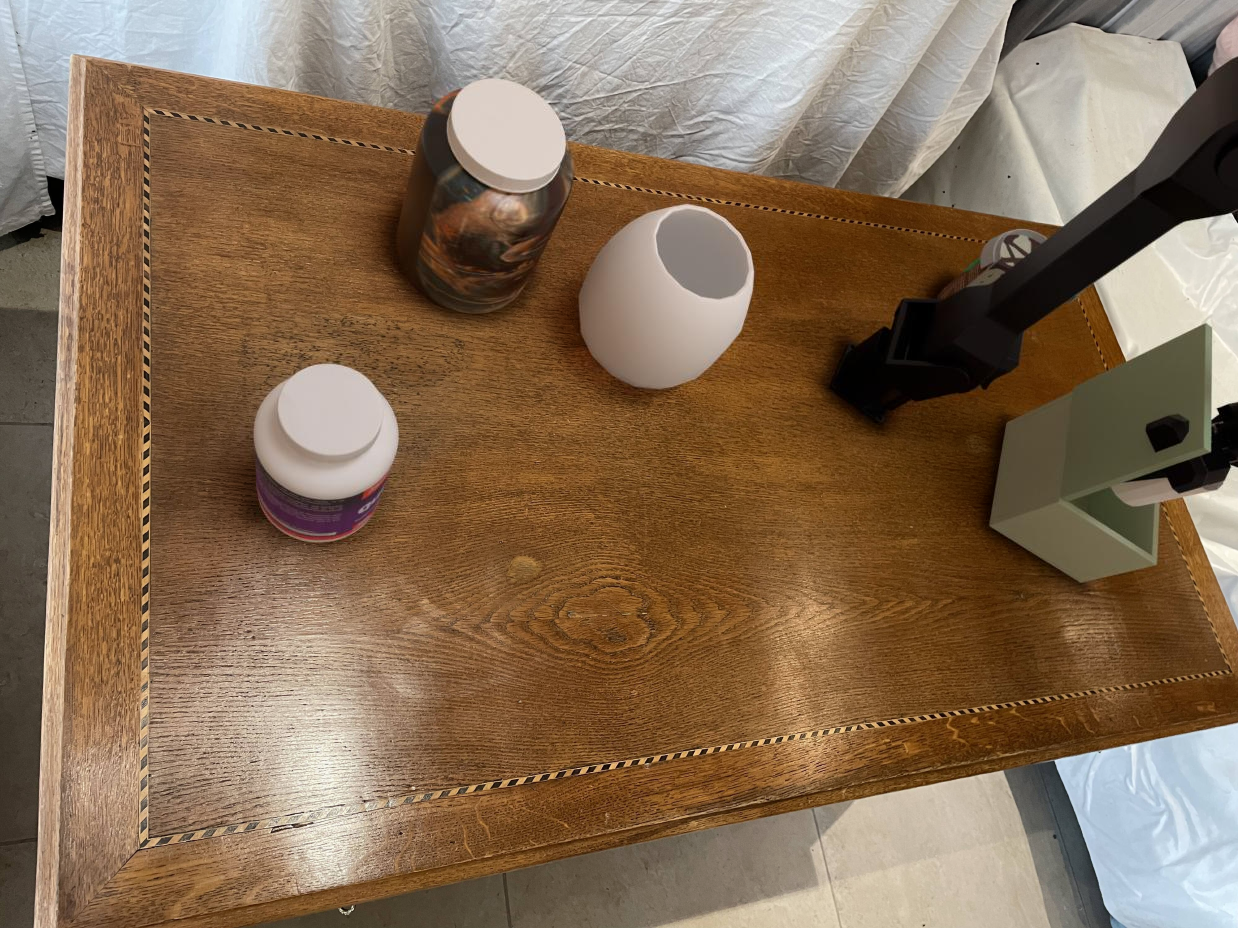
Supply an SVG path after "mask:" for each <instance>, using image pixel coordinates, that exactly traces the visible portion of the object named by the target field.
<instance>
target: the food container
mask: <svg viewBox="0 0 1238 928" xmlns="http://www.w3.org/2000/svg"><path fill="white" fill-rule="evenodd" d="M1048 238H1049V237H1048ZM1048 238H1047V237H1046V236H1045V235H1043V234H1041V233H1039V232H1038V231H1034V230H1031V229H1026V228H1017V229H1012V230H1008V231H1005V232H1003V233H1001V234H999V235H996V236H994V237H993V238H991V239H989V240H988V241H987V242H986V243H985V245H984V246H983V248H982V250H981V254H980V256H979V257H978V258H977V259H976V260H975V261H973V262H972V263H971V264H970V265H969V266H967V268H965V269H964V271H962V272H961V273H960V274H959V275H957V276H956V277H955V278H954V279H953V280H952V281H951V282H950V283H949V284H947V285H946V286H945V287H944V288H942V289H941V291H940V292H939V294H938V295H937V298H936V299H946V298H948V297H949V296H951V295H953V294H954V293H956V292H958V291H960V290H961V289H963V288H965V287H969V286H977V285H986V284H990V283H992V282H994V281H995V280H997V279H998V278H999V277H1000V276H1002V275H1003V274H1004V273H1005V272H1007V271H1008V270H1009V269H1010V268H1012V267H1013V266H1014V265H1015V264H1017V263H1018V262H1019V261H1020V260H1022V259H1023V258H1024V257H1025V256H1027V255H1028V254H1029V253H1030V252H1032V251H1033V250H1034V249H1035V248H1037V247H1038V246H1039V245H1040V244H1042V243H1043V242H1044V241H1045V240H1047V239H1048ZM1083 293H1084V290H1083V291H1082V292H1080V293H1079V294H1078V295H1076V296H1075V297H1073V298H1072V299H1070V300H1069V301H1068V303H1069V304H1072V303H1073V302H1074V301H1075V300H1077V299H1078V298H1079V297H1080V296H1081V294H1083Z"/></svg>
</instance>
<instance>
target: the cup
mask: <svg viewBox="0 0 1238 928" xmlns="http://www.w3.org/2000/svg"><path fill="white" fill-rule="evenodd" d="M753 263H754V262H753V258H752V252H751V250H750V249H749V247H748V244H747V242H746V241H745V238H744V237H743V235H742V234H741V232H740V231H738V230H737V229H736V228H735V226H734V225H732V223H730V221H729V220H727V219H726V218H725V217H723V216H722V215H719V214H718V213H717V212H714V211H713V210H711V209H709V208H708V207H704V206H699V205H694V204H689V203H684V204H680V205H674V206H670V207H669V206H668V207H665V208H661V209H657V210H653V211H648V212H646V213H644V214H642V215H641V216H639V217H636V218H635V219H633V220H631V221H630V222H629V223H628V224H626V225H625V226H624V227H622V228H620V230H619V231H618V232H616V233H615V234H614V235H612V237H611V238H610V239H609V240H608V242H607V243H606V244H605V245H604V246H603V247H602V249H600V251H599V252H598V254H597V255H596V257H595V259H594V260H593V262H592V264H591V266H590V267H589V269H588V271H587V272H586V276H585V278H584V280H583V283H582V286H581V288H580V291H579V293H578V312H579V326H580V327H579V328H580V334H581V336H582V338H583V340H584V343H585V344H586V346H587V348H588V350H589V351H588V352H589V353H590V354H591V356H592V358H593V359H594V360H595V361H596V362H597V363H598V364H599V365H600V366H601V367H602V368H603V369H604V370H605V371H607V373H608V374H610V375H611V376H612V377H614V378H616V379H619V380H620V381H622V382H625V383H626V384H628V385H631V386H633V387H635V388H642V389H643V388H644V389H655V390H662V389H669V388H673V387H677V386H679V385H682V384H685V383H688V382H691V381H694V380H697V378H699V377H700V376H701V375H702V374H703V373H704V372H706V371H707V370H708V369H709V368H711V366H712V365H713V364H714V363H715V362H717V360H718V359H719V358H720V357H721V356H722V355H723V354H724V352H726V351H727V349H728V348H729V347H730V346H731V344H732V343H733V342H734V341H735V339H737V337H738V336H739V335H740V333H741V332H742V329H743V328H744V323H745V320H746V317H747V314H748V310H749V306H750V303H751V299H752V295H753V291H754V279H755V278H754V277H755V270H754V264H753Z"/></svg>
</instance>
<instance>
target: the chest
mask: <svg viewBox="0 0 1238 928" xmlns="http://www.w3.org/2000/svg"><path fill="white" fill-rule="evenodd" d="M1072 395H1073V391H1070V392H1068V393H1066V394H1064V395H1061V396H1060V397H1058V398H1056V399H1054V400H1051V401H1050V402H1047V403H1045V404H1043V405H1040V406H1039V407H1037V408H1035V409H1033V410H1030V411H1027V412H1026V413H1024V414H1022V415H1020V416H1018V417H1016V418H1014V419H1012V420H1009V421H1007V422H1006V423H1005V430H1004V435H1003V441H1002V447H1001V453H1000V457H999V458H1000V459H999V465H998V471H997V476H996V482H995V488H994V495H993V500H992V505H991V506H992V507H991V511H990V512H991V513H990V518H989V524H988V526H989V527H990V528H992V529H993V530H995V531H997V532H998V533H1000V534H1001V535H1003V536H1004V537H1007V538H1008V539H1010V540H1011V541H1013V542H1014V543H1016V544H1017V545H1019V546H1020V547H1022V548H1024V549H1025V550H1027V551H1029V552H1030V553H1032V554H1033V555H1035V556H1036V557H1038V558H1040V559H1041V560H1043V561H1044V562H1046V563H1048V564H1049V565H1052V566H1053V567H1055V568H1056V569H1057V570H1059V571H1061V572H1063V573H1064V574H1066V575H1067V576H1068V577H1070V578H1072V579H1074V580H1076V581H1077V582H1078V583H1080V584H1082V583H1083V584H1084V583H1087V582H1091V581H1095V580H1099V579H1103V578H1107V577H1112V576H1115V575H1119V574H1124V573H1129V572H1133V571H1136V570H1137V571H1138V570H1142V569H1145V568H1149V567H1154V566H1157V565H1158V549H1159V527H1160V508H1161V507H1160V506H1161V504H1160V503H1161V502H1157V503H1152V504H1147V505H1142V506H1130V505H1128V504H1126V503H1124V502H1123V501H1122V500H1121V499H1119V498H1118V497H1117V496H1116V495H1115V493H1114V492H1113V490H1112V488H1111V487H1108V488H1105V489H1102V490H1099V491H1097V492H1094V493H1091V494H1088V495H1085V496H1082V497H1079V498H1076V499H1073V500H1071V501H1068V502H1066V501H1064V500H1062V499H1061V498H1060V495H1061V486H1062V478H1063V470H1064V461H1065V453H1066V445H1067V436H1068V428H1069V420H1070V411H1071V403H1072Z"/></svg>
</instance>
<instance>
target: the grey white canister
mask: <svg viewBox="0 0 1238 928" xmlns="http://www.w3.org/2000/svg"><path fill="white" fill-rule="evenodd" d="M1224 482H1225V481H1222V482H1219V483H1216V484H1213V485H1209V486H1206V487H1202V488H1199V489H1195V490H1192V491H1188V492H1184V493H1180V494H1178V493H1177V492H1176V491H1175V490H1173V489H1172V487H1171V485H1170V483H1169V481H1168V479H1167V478H1160V479H1152V480H1143V481H1134V482H1126V483H1120V484H1117V485H1114V486H1111V488H1112V490H1113V492H1114V493H1115V495H1116V496H1117V497H1118V498H1119V499H1121V500H1122V501H1123V502H1124V503H1126V504H1128V505H1130V506H1142V505H1147V504H1152V503H1157V502H1160V503H1161V502H1166V501H1167V502H1168V501H1170V500H1176V499H1180V498H1186V497H1190V496H1191V497H1192V496H1196V495H1199V494H1200V495H1201V494H1204V493H1205V494H1206V493H1210V492H1214V491H1218V490H1219V489H1220V488H1221V487H1222V486H1223V485H1224Z"/></svg>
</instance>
